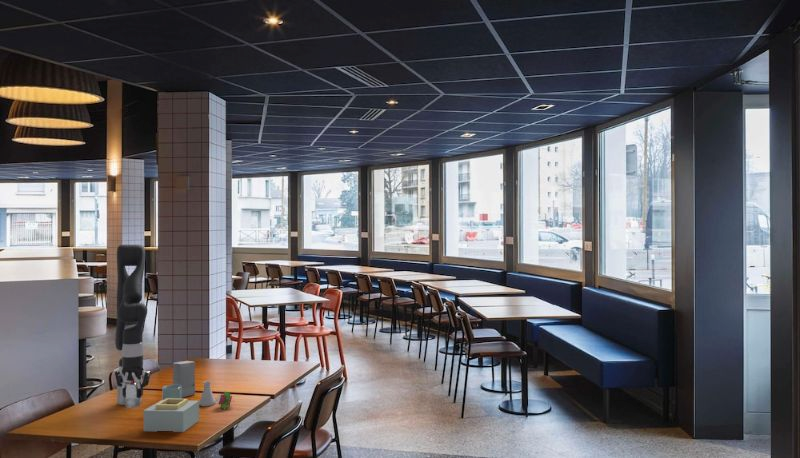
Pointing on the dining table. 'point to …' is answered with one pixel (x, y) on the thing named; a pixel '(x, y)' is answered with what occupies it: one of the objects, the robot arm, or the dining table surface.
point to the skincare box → (184, 377)
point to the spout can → (132, 395)
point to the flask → (207, 395)
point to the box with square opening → (171, 415)
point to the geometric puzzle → (224, 400)
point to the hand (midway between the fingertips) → (132, 397)
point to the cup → (171, 392)
